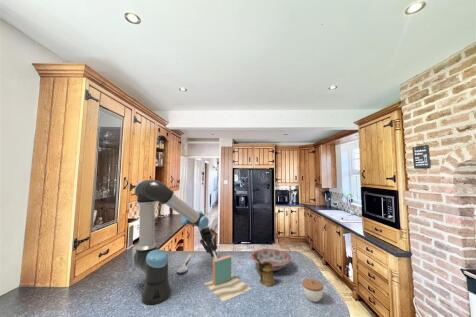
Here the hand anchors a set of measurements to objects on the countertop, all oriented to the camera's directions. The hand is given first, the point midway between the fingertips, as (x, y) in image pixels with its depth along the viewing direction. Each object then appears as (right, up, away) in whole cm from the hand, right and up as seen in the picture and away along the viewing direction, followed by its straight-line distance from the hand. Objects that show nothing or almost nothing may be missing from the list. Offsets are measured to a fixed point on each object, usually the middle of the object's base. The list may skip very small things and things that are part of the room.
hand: (216, 260), depth 131 cm
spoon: (-25, -13, +18) cm, 34 cm away
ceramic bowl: (+39, -11, +11) cm, 42 cm away
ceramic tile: (+5, -8, -9) cm, 13 cm away
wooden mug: (+31, -9, -9) cm, 34 cm away
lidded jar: (+56, -7, -25) cm, 61 cm away
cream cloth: (+8, -9, -14) cm, 18 cm away
